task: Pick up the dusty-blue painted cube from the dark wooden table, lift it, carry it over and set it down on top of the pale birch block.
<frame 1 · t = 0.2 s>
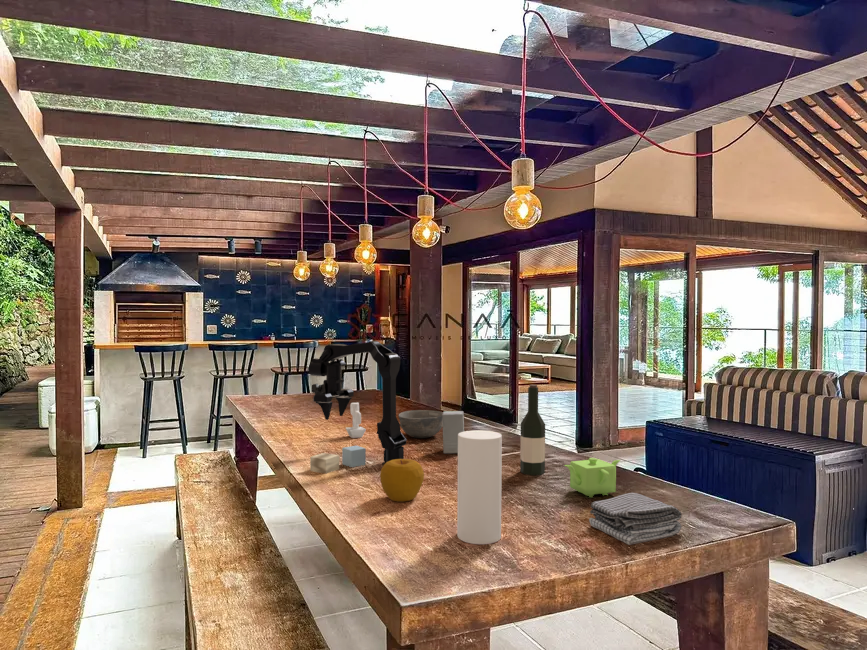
hand: (334, 417, 227), 14 cm above the table, fingers open, 9 cm apart
tall pillar cylinder: (479, 536, 146), on the table
towel: (633, 531, 150), on the table
birch block: (324, 470, 205), on the table
figurine: (355, 437, 260), on the table
apple: (402, 499, 174), on the table
teapot: (592, 493, 181), on the table
blue cube: (353, 464, 213), on the table
bowl: (421, 436, 262), on the table
wine bottle: (532, 472, 204), on the table
skincare box: (453, 452, 233), on the table
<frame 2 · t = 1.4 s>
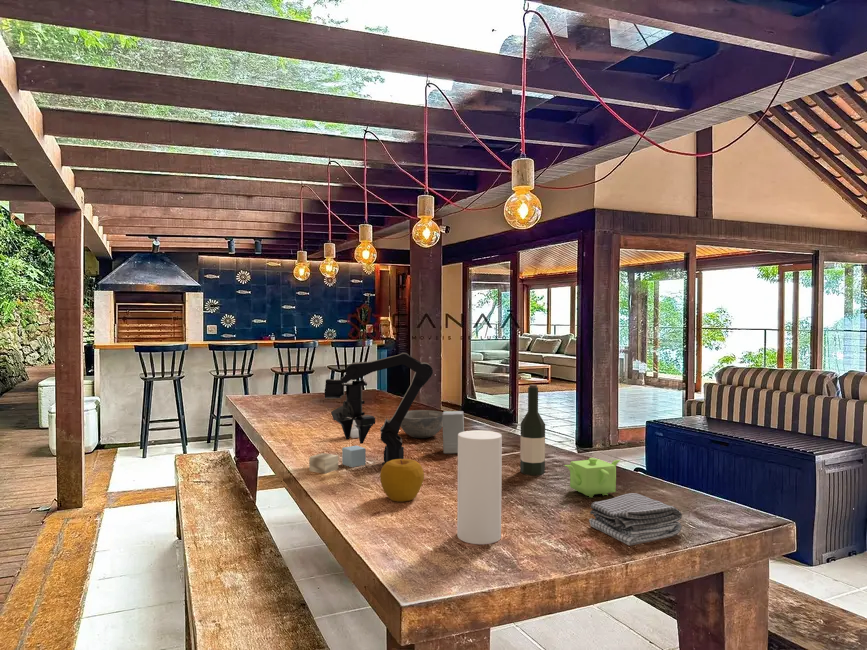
hand: (354, 441, 213), 8 cm above the table, fingers open, 9 cm apart
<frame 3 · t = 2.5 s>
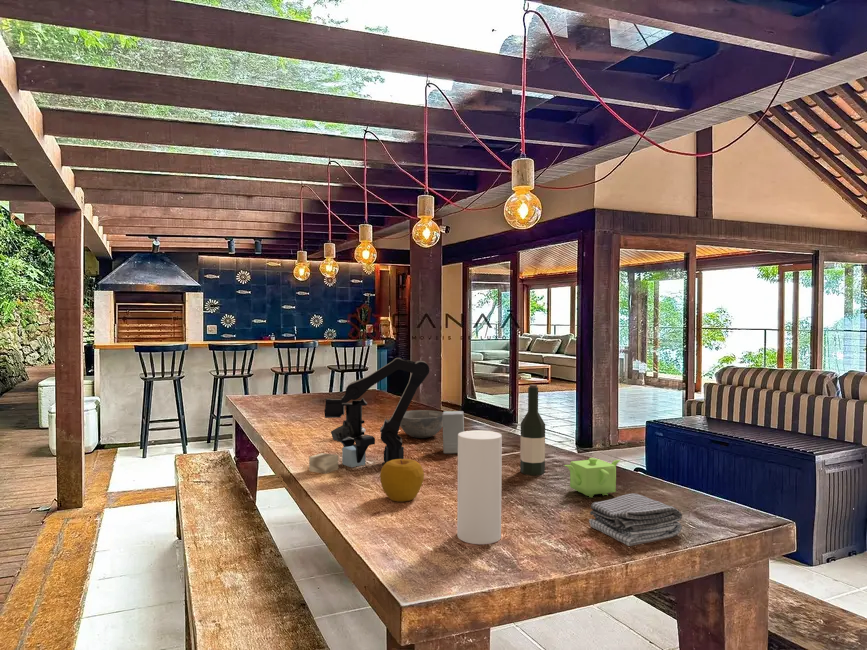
hand: (353, 460, 213), 1 cm above the table, fingers closed on blue cube, 6 cm apart
blue cube: (353, 464, 213), on the table, touching gripper
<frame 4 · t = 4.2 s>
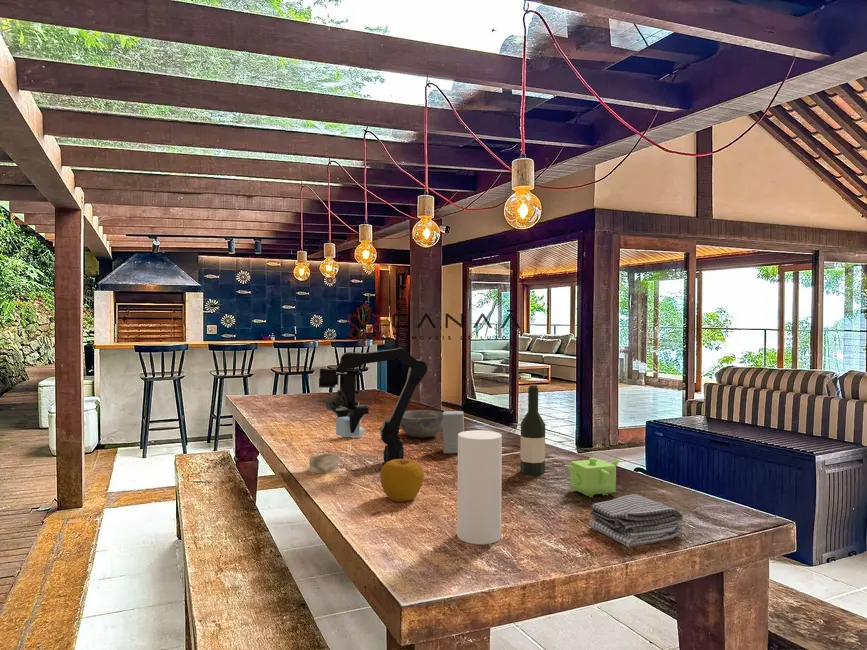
hand: (347, 431, 211), 12 cm above the table, fingers closed on blue cube, 6 cm apart
blue cube: (347, 434, 211), point 11 cm above the table, touching gripper
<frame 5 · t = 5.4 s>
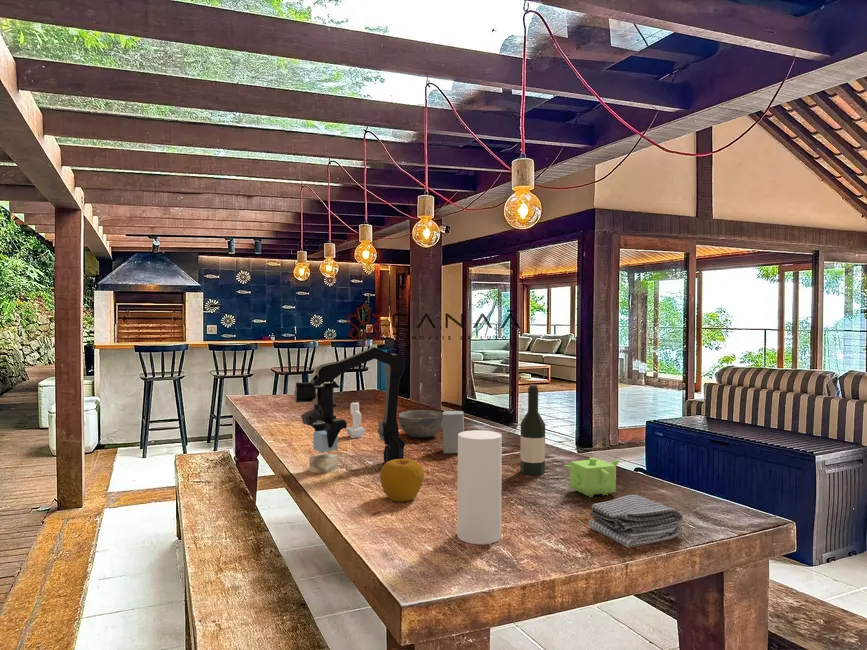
hand: (325, 446, 205), 8 cm above the table, fingers closed on blue cube, 6 cm apart
blue cube: (325, 449, 205), point 7 cm above the table, touching gripper
when the fingers open (7 cm above the table, at t = 6.1 s): blue cube drops 1 cm, resting on birch block.
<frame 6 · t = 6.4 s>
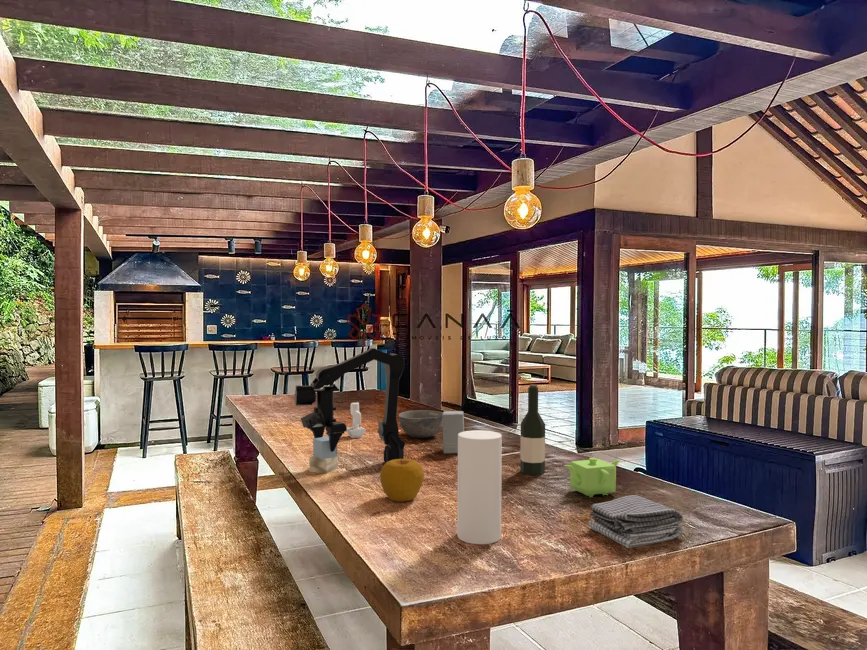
hand: (325, 449, 205), 7 cm above the table, fingers open, 9 cm apart
birch block: (323, 470, 205), on the table, touching blue cube
blue cube: (325, 456, 205), point 5 cm above the table, touching birch block
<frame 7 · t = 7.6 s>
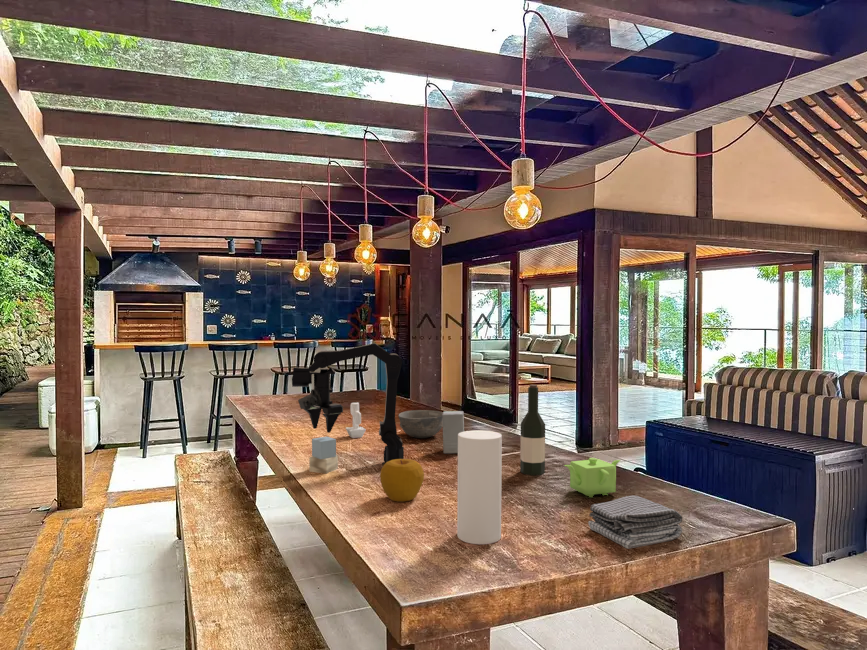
hand: (321, 430, 210), 13 cm above the table, fingers open, 9 cm apart
birch block: (323, 470, 205), on the table
blue cube: (323, 456, 205), point 5 cm above the table
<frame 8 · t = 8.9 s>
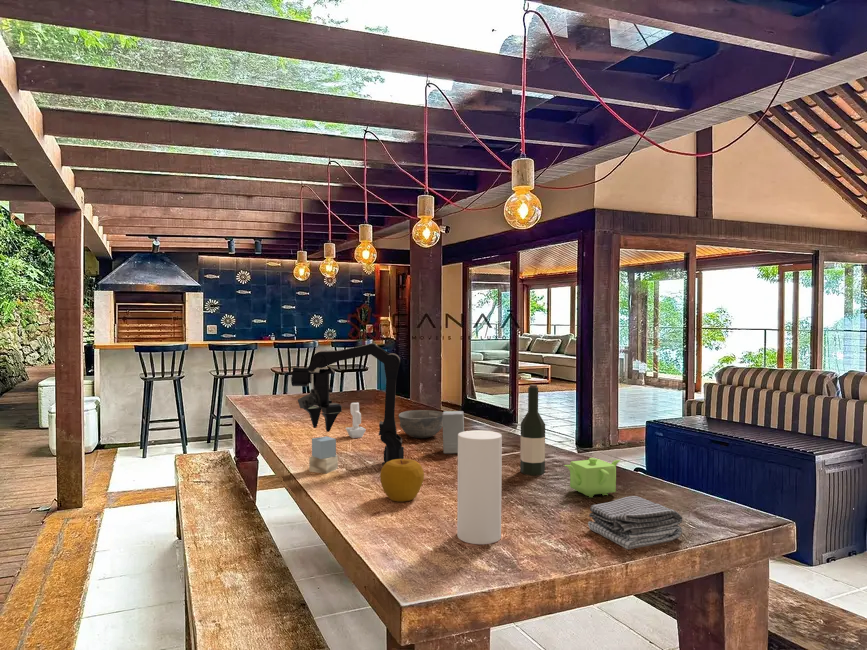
hand: (321, 429, 212), 12 cm above the table, fingers open, 9 cm apart
at the end: blue cube 0.1 cm off-centre on the birch block, point 5.0 cm above the birch block's base; blue cube tilted 0°; the gripper is holding nothing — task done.
